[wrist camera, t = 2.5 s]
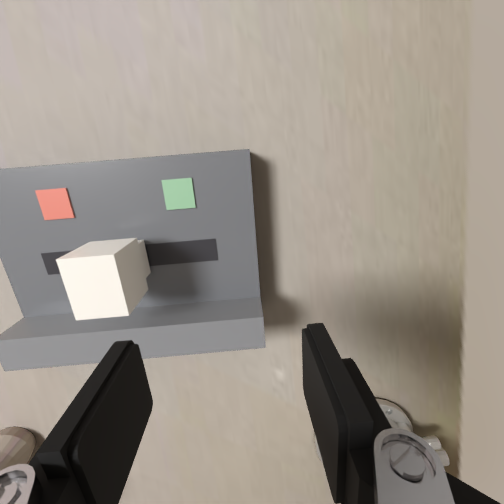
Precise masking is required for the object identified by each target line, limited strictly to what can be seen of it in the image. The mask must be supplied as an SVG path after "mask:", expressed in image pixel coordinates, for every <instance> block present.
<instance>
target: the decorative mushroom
mask: <svg viewBox="0 0 504 504" xmlns="http://www.w3.org/2000/svg"><path fill="white" fill-rule="evenodd" d="M35 444H36V441H35V437H34V436H33V434H32V433H31V432H30V431H28V430H27V429H24V428H21V427H9V428H6V429H3V430H1V431H0V471H1V470H3V469H5V468H7V467H9V466H13V465H17V464H27V462H28V461H29V460H30V457H31V455H32V453H33V450H34V448H35Z"/></svg>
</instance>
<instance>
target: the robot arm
mask: <svg viewBox="0 0 504 504" xmlns="http://www.w3.org/2000/svg"><path fill="white" fill-rule="evenodd" d="M302 357H303V390H304V395H305V399H306V403H307V406H308V410H309V414H310V417H311V421H312V425H313V428H314V432H315V435H314V444H315V449H316V452H317V455H318V458H319V459H320V461H321V462H322V463H323V465H324V468H325V472H326V476H327V479H328V483H329V486H330V490H331V494H332V497H333V500H334V503H335V504H337V503H341V504H500V503H499V502H497V501H495V500H493V499H491V498H490V497H488V496H486V495H485V494H483V493H481V492H480V491H478V490H476V489H474V488H473V487H471V486H469V485H467V484H466V483H464V482H462V481H461V480H459V479H457V478H455V477H454V476H452V475H450V474H449V473H447V472H445V469H444V466H449V464H450V462H449V458H448V455H447V453H446V451H445V450H444V449H443V448H442V447H441V443H440V441H439V439H438V438H437V437H436V436H424V437H419V436H417V435H416V434H414V433H413V428H412V425H411V422H410V420H409V419H408V417H407V416H406V414H405V413H404V412H403V410H402V409H401V408H400V407H398V406H397V405H395V404H394V403H391V402H389V401H387V400H382V399H376V398H375V397H374V395H373V393H372V391H371V390H370V388H369V386H368V385H367V383H366V381H365V379H364V378H363V376H362V374H361V372H360V371H359V369H358V367H357V365H356V364H355V362H354V361H353V359H351V358H346V359H341V357H340V355H339V353H338V351H337V349H336V347H335V345H334V343H333V342H332V340H331V338H330V336H329V334H328V332H327V330H326V328H325V326H324V324H323V323H315V324H307V328H305V329H302ZM152 406H153V400H152V396H151V392H150V388H149V384H148V380H147V376H146V372H145V368H144V364H143V360H142V356H141V352H140V348H139V345H138V344H134V342H133V341H132V340H126V341H116V342H114V343H113V344H112V346H111V347H110V349H109V350H108V352H107V353H106V354H105V356H104V357H103V359H102V360H101V361H100V363H99V364H98V366H97V367H96V369H95V370H94V371H93V373H92V374H91V376H90V377H89V379H88V380H87V381H86V383H85V384H84V386H83V387H82V388H81V390H80V391H79V393H78V394H77V396H76V397H75V398H74V400H73V401H72V403H71V404H70V406H69V407H68V408H67V410H66V411H65V413H64V414H63V415H62V417H61V418H60V420H59V421H58V423H57V424H56V425H55V427H54V428H53V430H52V431H51V432H50V434H49V435H48V437H47V438H46V440H45V441H44V442H43V444H42V445H41V447H40V448H39V450H38V451H37V452H36V454H35V456H34V457H33V458H32V460H31V461H30V463H29V464H17V465H13V466H9V467H7V468H5V469H3V470H1V471H0V504H118V503H119V500H120V498H121V495H122V492H123V489H124V486H125V484H126V481H127V478H128V475H129V473H130V470H131V467H132V464H133V461H134V459H135V456H136V453H137V450H138V447H139V445H140V442H141V439H142V436H143V433H144V431H145V428H146V425H147V422H148V419H149V417H150V414H151V411H152Z"/></svg>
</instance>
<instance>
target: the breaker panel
mask: <svg viewBox="0 0 504 504" xmlns="http://www.w3.org/2000/svg"><path fill="white" fill-rule="evenodd" d="M128 238H137V240H144V243H145V248H146V252H147V257H148V262H149V267H150V271H151V273H150V274H149V275H148V276H147V278H146V281H147V286H148V291H147V292H146V293H145V295H144V296H143V297H142V299H141V300H140V302H139V303H138V304H137V306H136V307H135V308H134V310H133V311H132V312H131V314H130V315H129V316H120V317H109V318H97V319H86V320H76V319H75V316H74V313H73V310H72V307H71V304H70V301H69V298H68V295H67V292H66V289H65V286H64V283H63V280H62V277H61V274H60V271H59V268H58V265H57V262H56V259H58V258H60V257H62V256H63V255H65V254H67V253H69V252H71V251H73V250H75V249H77V248H79V247H81V246H83V245H84V244H86V243H88V242H92V241H104V240H116V239H128ZM0 258H1V261H2V263H3V266H4V268H5V271H6V273H7V276H8V278H9V281H10V283H11V286H12V288H13V291H14V293H15V296H16V298H17V301H18V303H19V306H20V308H21V311H22V314H23V316H24V318H23V319H21V320H20V321H18V322H17V323H16V324H14V325H13V326H12V327H10V328H9V329H7V330H6V331H5V332H3V333H2V334H0V362H1V365H2V367H3V369H4V371H14V370H25V369H36V368H47V367H58V366H69V365H80V364H91V363H100V361H101V360H102V359H103V357H104V356H105V354H106V353H107V352H108V350H109V349H110V347H111V346H112V344H113V343H114V342H116V341H126V340H132V341H133V342H134V344H138V345H139V348H140V352H141V356H142V359H146V358H157V357H168V356H179V355H190V354H201V353H212V352H224V351H235V350H246V349H257V348H266V346H265V332H264V318H263V311H262V304H261V297H260V285H259V271H258V258H257V244H256V231H255V217H254V204H253V190H252V177H251V163H250V150H249V149H244V150H231V151H219V152H206V153H194V154H181V155H169V156H156V157H144V158H131V159H119V160H106V161H93V162H81V163H68V164H56V165H43V166H31V167H18V168H6V169H0Z"/></svg>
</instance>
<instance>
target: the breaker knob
mask: <svg viewBox="0 0 504 504" xmlns="http://www.w3.org/2000/svg"><path fill="white" fill-rule="evenodd" d="M56 262H57V265H58V268H59V271H60V274H61V277H62V280H63V283H64V286H65V289H66V292H67V295H68V298H69V301H70V304H71V307H72V310H73V313H74V316H75V319H76V320H86V319H97V318H109V317H120V316H129V315H130V314H131V312H132V311H133V310H134V308H135V307H136V306H137V304H138V303H139V302H140V300H141V299H142V297H143V296H144V295H145V293H146V292H147V291H148V286H147V281H146V278H147V276H148V275H149V274H150V273H151V271H150V267H149V262H148V257H147V252H146V248H145V243H144V240H137V238H128V239H116V240H104V241H92V242H88V243H86V244H84V245H83V246H81V247H79V248H77V249H75V250H73V251H71V252H69V253H67V254H65V255H63V256H62V257H60V258H58V259H56Z"/></svg>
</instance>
